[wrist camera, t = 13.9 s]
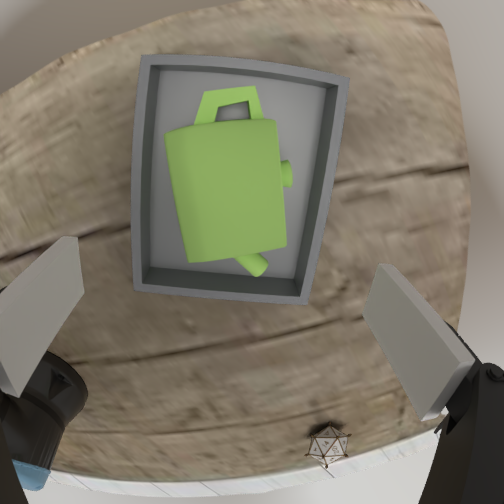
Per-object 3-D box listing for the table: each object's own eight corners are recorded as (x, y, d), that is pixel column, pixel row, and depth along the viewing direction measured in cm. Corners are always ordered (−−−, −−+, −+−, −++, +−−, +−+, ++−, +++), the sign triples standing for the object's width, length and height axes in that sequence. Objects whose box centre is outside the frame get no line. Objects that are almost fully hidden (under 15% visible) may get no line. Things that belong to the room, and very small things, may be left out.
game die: (312, 415, 56) (298, 438, 47) (353, 414, 53) (346, 439, 44) (313, 449, 55) (300, 475, 46) (353, 450, 52) (345, 477, 43)
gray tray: (144, 269, 37) (133, 290, 32) (154, 63, 27) (141, 54, 23) (298, 282, 39) (307, 305, 34) (333, 82, 29) (349, 77, 24)
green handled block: (287, 249, 36) (308, 293, 28) (201, 262, 36) (198, 310, 27) (272, 88, 28) (295, 78, 20) (174, 101, 28) (156, 95, 19)
